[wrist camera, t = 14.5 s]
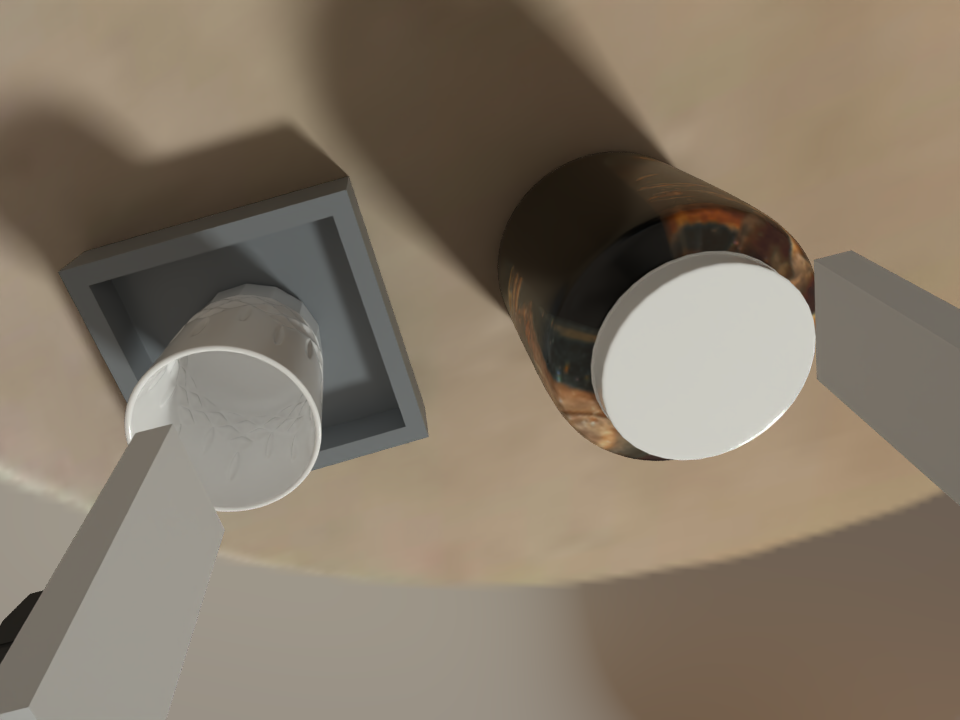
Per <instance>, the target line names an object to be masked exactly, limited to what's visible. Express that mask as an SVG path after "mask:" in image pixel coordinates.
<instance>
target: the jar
mask: <svg viewBox="0 0 960 720" xmlns="http://www.w3.org/2000/svg"><path fill="white" fill-rule="evenodd" d="M498 279H499V285H500V290H501V294H502V297H503V300H504V302H505V305H506V308H507V310H508V312H509V315H510V317H511V319H512V321H513V323H514V326H515V328H516V330H517V332H518V334H519V336H520V339H521V341H522V343H523V345H524V347H525V349H526V351H527V353H528V355H529V357H530V359H531V361H532V363H533V365H534V367H535V370H536V372H537V374H538V375H539V377H540V379H541V381H542V383H543V385H544V387H545V389H546V391H547V392H548V394H549V396H550V397H551V399H552V400H553V402H554V404H555V405H556V407H557V408H558V410H559V411H560V413H561V414H562V415H563V417H564V418H565V419H566V420H567V421H568V422H569V423H570V425H571V426H572V427H573V428H574V429H575V430H576V431H577V432H578V433H580V434H581V435H582V436H583V437H584V438H586V439H587V440H589V441H590V442H592V443H593V444H595V445H597V446H599V447H600V448H602V449H605V450H607V451H609V452H612V453H615V454H618V455H621V456H624V457H629V458H633V459H640V460H651V461H666V460H695V459H703V458H708V457H712V456H717V455H720V454H723V453H725V452H728V451H731V450H734V449H736V448H738V447H740V446H742V445H744V444H746V443H748V442H750V441H751V440H753V439H754V438H756V437H757V436H759V435H760V434H762V433H763V432H764V431H766V430H767V429H768V428H769V427H770V426H772V425H773V424H774V423H775V422H776V421H777V420H778V419H779V418H780V417H781V416H782V415H783V414H784V413H785V412H786V410H787V409H788V408H789V407H790V406H791V405H792V403H793V402H794V400H795V399H796V397H797V396H798V394H799V392H800V391H801V389H802V388H803V386H804V383H805V381H806V379H807V377H808V374H809V372H810V369H811V365H812V362H813V358H814V354H815V341H816V322H815V281H814V271H813V268H812V266H811V263H810V261H809V259H808V257H807V255H806V254H805V252H804V251H803V249H802V248H801V246H800V245H799V243H798V242H797V241H796V240H795V239H794V238H793V236H791V235H790V234H789V233H788V232H787V231H786V230H785V229H784V228H783V227H782V226H781V225H780V224H779V223H777V222H776V221H775V220H773V219H772V218H771V217H769V216H768V215H766V214H764V213H763V212H761V211H760V210H758V209H756V208H755V207H753V206H751V205H750V204H748V203H746V202H744V201H742V200H740V199H738V198H737V197H735V196H733V195H731V194H729V193H727V192H725V191H723V190H721V189H719V188H717V187H715V186H713V185H711V184H709V183H707V182H705V181H703V180H701V179H698V178H696V177H694V176H692V175H690V174H688V173H686V172H683V171H681V170H679V169H677V168H675V167H673V166H670V165H668V164H666V163H664V162H661V161H659V160H657V159H654V158H651V157H648V156H645V155H641V154H637V153H630V152H603V153H596V154H592V155H587V156H584V157H581V158H578V159H576V160H573V161H571V162H568V163H566V164H564V165H563V166H561V167H559V168H557V169H556V170H554V171H552V172H551V173H549V174H548V175H547V176H545V177H544V178H543V179H542V180H540V181H539V182H538V183H537V184H536V185H535V186H534V187H533V188H532V189H531V190H530V191H529V192H528V193H527V194H526V195H525V197H524V198H523V199H522V200H521V202H520V203H519V204H518V206H517V207H516V209H515V211H514V212H513V214H512V216H511V218H510V220H509V222H508V224H507V226H506V228H505V231H504V234H503V237H502V240H501V244H500V249H499V256H498Z"/></svg>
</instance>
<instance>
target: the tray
mask: <svg viewBox="0 0 960 720" xmlns="http://www.w3.org/2000/svg"><path fill="white" fill-rule="evenodd" d="M58 273H59V275H60V277H61V279H62V281H63V282H64V284H65V286H66V288H67V290H68V292H69V294H70V296H71V298H72V299H73V301H74V303H75V305H76V307H77V309H78V311H79V313H80V315H81V317H82V318H83V320H84V322H85V324H86V326H87V328H88V330H89V332H90V334H91V336H92V337H93V339H94V341H95V343H96V345H97V347H98V349H99V351H100V353H101V354H102V356H103V358H104V360H105V362H106V364H107V366H108V368H109V370H110V372H111V373H112V375H113V377H114V379H115V381H116V383H117V385H118V387H119V389H120V391H121V392H122V394H123V396H124V398H125V400H126V402H127V403H128V400H129V397H130V395H131V393H132V391H133V389H134V387H135V386H136V384H137V383H138V381H139V380H140V379H141V377H142V376H143V375H144V374H145V373H146V371H147V370H148V369H149V368H150V367H151V365H152V364H153V363H154V362H155V360H156V359H157V358H158V357H159V355H160V354H161V353H162V352H163V350H164V349H165V348H166V347H167V345H168V344H169V343H170V342H171V340H172V339H173V338H174V337H175V336H176V334H177V333H178V332H179V331H180V330H181V329H182V328H183V326H184V325H185V324H187V322H188V321H189V320H190V319H191V318H192V317H193V316H194V315H195V314H197V313H198V312H199V311H200V310H201V309H202V308H203V307H204V306H205V305H206V304H207V303H208V302H209V301H210V300H211V299H212V298H213V297H214V296H215V295H216V294H217V293H218V292H221V291H224V290H227V289H230V288H234V287H237V286H240V285H243V284H246V283H247V284H256V285H265V286H273V287H278V288H279V289H281V290H283V291H284V292H286V293H288V294H290V295H291V296H293V297H295V298H297V299H298V300H300V301H302V302H303V304H304V305H305V306H306V308H307V309H308V311H309V312H310V313H311V315H312V316H313V318H314V319H315V320H316V322H317V323H318V325H319V331H320V338H321V344H322V357H323V408H322V435H321V445H320V450H319V454H318V457H317V459H316V462H315V464H314V466H313V468H312V469H311V471H312V470H316V469H319V468H323V467H326V466H329V465H333V464H336V463H340V462H343V461H347V460H350V459H354V458H357V457H361V456H364V455H367V454H371V453H374V452H378V451H381V450H385V449H388V448H392V447H395V446H399V445H402V444H405V443H409V442H412V441H416V440H419V439H423V438H426V437H429V436H428V428H427V420H426V412H425V406H424V403H423V400H422V397H421V394H420V391H419V388H418V385H417V382H416V379H415V376H414V373H413V370H412V367H411V364H410V361H409V358H408V355H407V352H406V349H405V345H404V342H403V339H402V336H401V333H400V330H399V327H398V324H397V321H396V318H395V315H394V312H393V309H392V306H391V303H390V300H389V297H388V294H387V291H386V288H385V285H384V282H383V279H382V276H381V273H380V270H379V267H378V264H377V260H376V257H375V254H374V251H373V248H372V245H371V242H370V239H369V236H368V233H367V230H366V227H365V224H364V221H363V218H362V215H361V212H360V209H359V206H358V203H357V200H356V197H355V194H354V191H353V188H352V185H351V182H350V178H349V176H348V177H344V178H341V179H337V180H334V181H330V182H327V183H323V184H320V185H316V186H313V187H309V188H306V189H302V190H299V191H295V192H292V193H288V194H285V195H281V196H278V197H274V198H271V199H267V200H264V201H260V202H257V203H253V204H250V205H246V206H243V207H239V208H236V209H232V210H229V211H225V212H222V213H218V214H215V215H211V216H208V217H204V218H201V219H197V220H194V221H190V222H187V223H183V224H180V225H176V226H173V227H169V228H166V229H162V230H159V231H155V232H152V233H148V234H145V235H141V236H138V237H134V238H131V239H127V240H124V241H120V242H117V243H113V244H110V245H106V246H103V247H99V248H96V249H92V250H89V251H85V252H83V253H82V254H81V255H80V256H78V257H77V258H76V259H74V260H73V261H72V262H70V263H69V264H68V265H67V266H65V267H64V268H63V269H61V270H60V271H59V272H58Z"/></svg>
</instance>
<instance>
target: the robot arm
mask: <svg viewBox="0 0 960 720" xmlns="http://www.w3.org/2000/svg"><path fill="white" fill-rule="evenodd" d="M814 281H815V322H816V363H817V380H819V381H820V382H821V383H822V384H823V385H824V386H825V387H826V388H828V389H829V390H830V391H831V392H832V393H833V394H834V395H835V396H837V397H838V398H839V399H840V400H841V401H842V402H843V403H844V404H846V405H847V406H848V407H849V408H850V409H851V410H852V411H854V412H855V413H856V414H857V415H858V416H859V417H860V418H861V419H863V420H864V421H865V422H866V423H867V424H868V425H869V426H870V427H872V428H873V429H874V430H875V431H876V432H877V433H878V434H879V435H881V436H882V437H883V438H884V439H885V440H886V441H887V442H888V443H890V444H891V445H892V446H893V447H894V448H895V449H896V450H897V451H899V452H900V453H901V454H902V455H903V456H904V457H905V458H906V459H908V460H909V461H910V462H911V463H912V464H913V465H914V466H915V467H917V468H918V469H919V470H920V471H921V472H922V473H923V474H925V475H926V476H927V477H928V478H929V479H930V480H931V481H932V482H934V483H935V484H936V485H937V486H938V487H939V488H940V489H941V490H943V491H944V492H945V493H946V494H947V495H948V496H949V497H950V498H952V499H953V500H954V501H955V502H956V503H957V504H958V505H959V506H960V309H958V308H957V307H955V306H953V305H951V304H949V303H947V302H946V301H944V300H942V299H940V298H938V297H936V296H934V295H933V294H931V293H929V292H927V291H925V290H923V289H922V288H920V287H918V286H916V285H914V284H912V283H911V282H909V281H907V280H905V279H903V278H901V277H899V276H898V275H896V274H894V273H892V272H890V271H888V270H887V269H885V268H883V267H881V266H879V265H877V264H876V263H874V262H872V261H870V260H868V259H866V258H864V257H863V256H861V255H859V254H857V253H855V252H853V251H852V250H851V251H847V252H843V253H839V254H835V255H832V256H828V257H824V258H820V259H816V260H814ZM224 531H225V529H224V527H223V525H222V523H221V521H220V519H219V517H218V515H217V513H216V511H215V509H214V507H213V505H212V503H211V501H210V499H209V496H208V494H207V492H206V490H205V488H204V486H203V484H202V482H201V480H200V478H199V476H198V474H197V472H196V470H195V468H194V466H193V464H192V462H191V460H190V458H189V456H188V453H187V451H186V449H185V447H184V445H183V443H182V441H181V439H180V437H179V435H178V433H177V431H176V429H175V427H174V425H173V424H169V425H165V426H161V427H157V428H153V429H149V430H145V431H141V432H138V433H135V435H134V436H133V438H132V440H131V442H130V443H129V445H128V447H127V448H126V450H125V452H124V454H123V455H122V457H121V459H120V460H119V462H118V464H117V466H116V467H115V469H114V471H113V472H112V474H111V476H110V477H109V479H108V481H107V483H106V484H105V486H104V488H103V489H102V491H101V493H100V495H99V496H98V498H97V500H96V501H95V503H94V505H93V507H92V508H91V510H90V512H89V513H88V515H87V517H86V519H85V520H84V522H83V524H82V525H81V527H80V529H79V531H78V532H77V534H76V536H75V537H74V539H73V541H72V543H71V544H70V546H69V548H68V549H67V551H66V553H65V555H64V556H63V558H62V560H61V561H60V563H59V565H58V567H57V568H56V570H55V572H54V573H53V575H52V577H51V579H50V580H49V582H48V584H47V585H46V587H45V589H44V590H43V591H40V592H36V593H32V594H30V595H29V596H28V597H27V598H25V599H24V600H23V601H22V602H21V604H19V605H18V606H17V608H16V609H14V611H12V612H11V613H10V614H9V615H8V616H7V617H6V618H5V619H4V620H3V622H2V623H1V625H0V720H166V718H167V715H168V712H169V709H170V705H171V702H172V699H173V696H174V693H175V689H176V686H177V683H178V680H179V676H180V673H181V670H182V667H183V663H184V660H185V657H186V654H187V651H188V647H189V644H190V641H191V638H192V634H193V631H194V628H195V624H196V621H197V618H198V615H199V612H200V608H201V605H202V602H203V599H204V595H205V592H206V589H207V586H208V583H209V579H210V576H211V573H212V570H213V566H214V563H215V560H216V557H217V553H218V550H219V547H220V544H221V541H222V537H223V534H224Z"/></svg>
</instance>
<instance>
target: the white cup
mask: <svg viewBox="0 0 960 720" xmlns="http://www.w3.org/2000/svg"><path fill="white" fill-rule="evenodd" d="M322 408H323V357H322V344H321V338H320V331H319V325H318V323H317V322H316V320H315V319H314V318H313V316H312V315H311V313H310V312H309V311H308V309H307V308H306V306H305V305H304V304H303V302H302V301H300V300H298V299H297V298H295V297H293V296H291V295H290V294H288V293H286V292H284V291H283V290H281V289H279V288H278V287H273V286H265V285H256V284H247V283H246V284H243V285H240V286H237V287H234V288H230V289H227V290H224V291H221V292H218V293H217V294H216V295H215V296H214V297H213V298H212V299H211V300H210V301H209V302H208V303H207V304H206V305H205V306H204V307H203V308H202V309H201V310H200V311H199V312H198V313H197V314H195V315H194V316H193V317H192V318H191V319H190V320H189V321H188V322H187V324H185V325H184V326H183V328H182V329H181V330H180V331H179V332H178V333H177V334H176V336H175V337H174V338H173V339H172V340H171V342H170V343H169V344H168V345H167V347H166V348H165V349H164V350H163V352H162V353H161V354H160V355H159V357H158V358H157V359H156V360H155V362H154V363H153V364H152V365H151V367H150V368H149V369H148V370H147V371H146V373H145V374H144V375H143V376H142V377H141V379H140V380H139V381H138V383H137V384H136V386H135V387H134V389H133V391H132V393H131V395H130V397H129V400H128V403H127V407H126V412H125V435H126V440H127V444H128V445H129V443H130V442H131V440H132V438H133V436H134V435H135V433H138V432H141V431H145V430H149V429H153V428H157V427H161V426H165V425H169V424H173V425H174V427H175V429H176V431H177V433H178V435H179V437H180V439H181V441H182V443H183V445H184V447H185V449H186V451H187V453H188V456H189V458H190V460H191V462H192V464H193V466H194V468H195V470H196V472H197V474H198V476H199V478H200V480H201V482H202V484H203V486H204V488H205V490H206V492H207V494H208V496H209V499H210V501H211V503H212V505H213V507H214V509H215V511H225V512H234V511H245V510H251V509H255V508H259V507H263V506H265V505H268V504H271V503H273V502H275V501H277V500H279V499H281V498H283V497H284V496H286V495H287V494H289V493H290V492H292V491H293V490H294V489H295V488H296V487H297V486H299V485H300V484H301V483H302V481H303V480H304V479H305V478H306V477H307V475H308V474H309V472H310V471H311V469H312V468H313V466H314V464H315V462H316V459H317V457H318V454H319V450H320V445H321V435H322Z"/></svg>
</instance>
